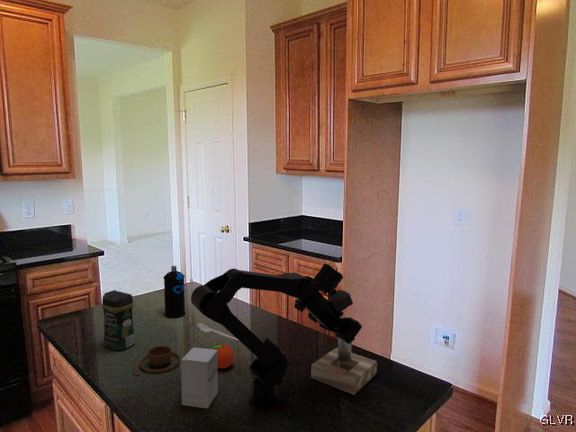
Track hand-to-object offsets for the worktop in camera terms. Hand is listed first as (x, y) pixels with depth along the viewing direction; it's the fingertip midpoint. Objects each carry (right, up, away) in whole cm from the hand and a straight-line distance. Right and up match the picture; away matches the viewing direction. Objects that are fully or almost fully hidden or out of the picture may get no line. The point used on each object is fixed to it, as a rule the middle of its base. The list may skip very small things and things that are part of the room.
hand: (348, 336), depth 121 cm
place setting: (-55, -12, +4) cm, 56 cm away
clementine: (-38, -11, +5) cm, 40 cm away
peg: (-1, -7, 0) cm, 7 cm away
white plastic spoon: (-43, -8, +29) cm, 52 cm away
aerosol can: (-63, -5, +46) cm, 78 cm away
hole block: (-1, -12, +1) cm, 12 cm away
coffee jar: (-74, -9, +18) cm, 77 cm away
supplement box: (-41, -13, -12) cm, 45 cm away
